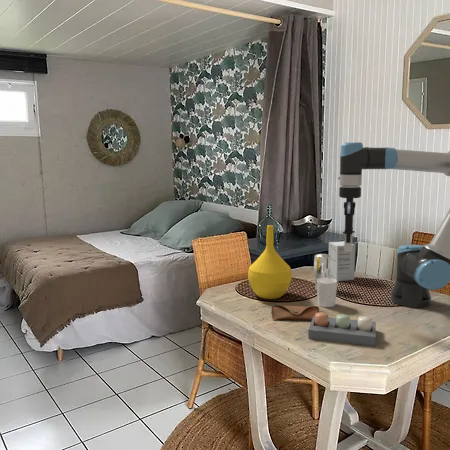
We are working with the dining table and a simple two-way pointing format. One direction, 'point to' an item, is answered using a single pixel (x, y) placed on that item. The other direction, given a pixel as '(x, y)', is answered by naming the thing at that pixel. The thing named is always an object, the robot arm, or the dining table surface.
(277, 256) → the vase
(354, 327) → the panel
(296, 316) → the sunglasses case
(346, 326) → the button sage
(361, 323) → the button cream
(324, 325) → the button terracotta
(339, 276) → the supplement box
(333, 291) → the white cup
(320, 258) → the beer glass
